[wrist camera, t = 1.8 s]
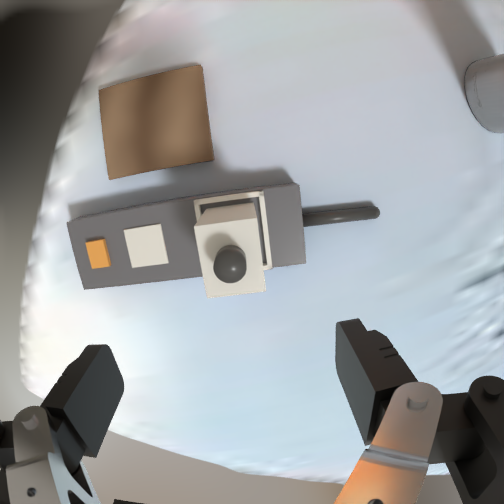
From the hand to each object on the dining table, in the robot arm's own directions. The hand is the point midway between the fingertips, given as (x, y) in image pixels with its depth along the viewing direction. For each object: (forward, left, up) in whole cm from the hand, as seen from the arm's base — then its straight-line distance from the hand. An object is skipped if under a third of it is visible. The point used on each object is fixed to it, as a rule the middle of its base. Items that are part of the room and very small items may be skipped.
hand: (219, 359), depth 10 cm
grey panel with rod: (+1, 0, -20) cm, 20 cm away
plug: (0, 0, -18) cm, 18 cm away
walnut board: (+6, -11, -20) cm, 24 cm away
